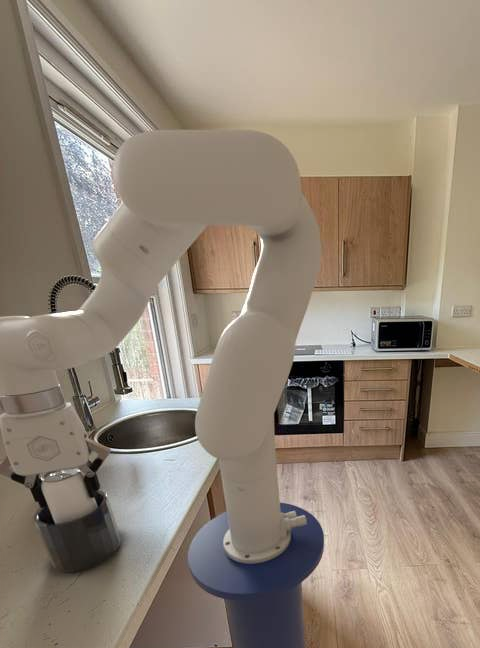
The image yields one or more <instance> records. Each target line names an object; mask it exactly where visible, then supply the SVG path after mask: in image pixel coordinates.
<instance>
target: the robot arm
mask: <svg viewBox="0 0 480 648" xmlns="http://www.w3.org/2000/svg"><path fill="white" fill-rule="evenodd" d="M112 180H113V184H114V187H115V190H116V192H117V195H118V197H119V199H120V200H121V201H122V202H121V203H120V204H119V206H118V207H117V208H116V210H115V211H114V212H113V214H112V215H111V217H109V218H108V220H107V221H106V223H105V224H104V225H103V227H102V228H101V229H100V230H99V232H98V233H97V234H96V235H95V237H94V238H93V240H92V242H91V243H92V244H91V249H92V252H93V255H94V257H95V259H96V260H97V262H98V263H99V265H100V277H99V280H98V282H97V284H96V286H95V287H94V290H93V291H92V292H91V294H90V295H89V296H88V298H87V299H86V300H85V301H84V302H83V303H82V305H81V306H80V307H79V308H78V309H77V310H71V311H63V312H55V313H46V314H40V315H33V316H28V315H27V316H26V315H5V316H0V408H1V410H2V412H3V413H1V414H0V432H1V436H2V441H3V445H4V448H5V451H6V457H5V458H4V459H3V460H2V462H1V463H0V475H2V476H4V477H7V478H10V479H11V480H12V481H14V482H16V483H18V484H21V485H23V486H24V487H25V488H26V489H29V490H30V493H31V495H32V497H33V500H34V502H35V503H38V505H39V509H40V508H45V507H46V506H47V502H46V500H45V497H44V495H43V492H42V489H41V485H42V480H41V477H40V475H41V474H45V473H47V472H53V471H58V470H64V469H70V468H75V467H77V468H79V469H80V470H81V471H82V472H83V473H84V474H85V477H84V482H85V485H86V488H87V491H88V494H89V497H91V498H94V497H95V496H96V494H97V491H98V490H99V491H100V489H101V484H100V481H99V477H98V474H97V472H98V470H99V469H100V467H101V466H103V465H102V464H103V463H104V462H105V461H106V459H107V458H108V456H110V453H111V451H112V450H111V448H110V447H108V446H106V445H104V444H102V443H100V442H98V441H95V440H93V439H91V438H90V437H89V436H88V432H87V431H86V429H85V426H84V423H83V422H82V420H81V418H80V416H79V414H78V413H77V411H76V409H75V408H74V406H73V404H72V403H71V402H68V401H66V399H65V396H64V393H63V390H62V386H61V383H60V381H59V378H58V375H57V371H66V370H70V369H73V368H76V367H79V366H82V365H84V364H86V363H88V362H92V361H95V360H97V359H101V358H104V357H105V356H107V355H109V354H110V353H112V352H113V351H114V350H115V349H116V348H117V347H118V346H119V345H120V344H121V343H122V341H123V340H124V339H125V338H126V337H127V335H128V334H129V333H131V331H132V330H133V328H134V327H135V326H136V325H137V323H138V322H139V321H140V319H141V317H142V316H143V314H144V312H145V310H146V308H147V306H148V303H149V302H150V301H151V297H152V295H153V292H154V290H155V289H156V288H157V286H159V284H160V283H161V282H162V280H163V279H165V277H166V275H167V274H168V273H169V272H170V271H171V270H172V268H173V267H174V266H175V265H176V264H177V262H178V261H179V260H180V259H181V258H182V257H183V255H185V253H186V252H187V250H188V249H189V248H190V247H192V245H193V243H194V242H195V241H196V240H197V239H198V238H199V237H200V235H201V234H202V233H203V231H204V230H205V229H206V227H207V226H248V227H250V229H251V230H253V231H254V232H255V233H256V234H257V235H258V237H259V239H260V245H261V247H260V248H261V250H260V255H259V257H258V261H257V264H256V266H255V269H254V272H253V274H252V278H251V283H250V287H249V290H248V293H247V296H246V299H245V302H244V304H243V307H242V310H241V312H240V315H239V316H237V317H235V318H234V319H233V320H232V321H231V322H230V323H228V325H227V326H226V327H225V329H224V330H223V332H222V333H221V335H220V337H219V339H218V341H217V344H216V346H215V349H214V353H213V357H212V359H211V362H210V365H209V369H208V372H207V376H206V380H205V382H204V386H203V390H202V393H201V397H200V398H199V399H200V400H199V403H198V406H197V409H196V414H195V418H194V430H195V435H196V438H197V440H198V442H199V444H200V446H201V447H202V448H203V450H204V451H205V452H206V453H208V454H209V455H210V456H212V457H214V459H218V463H219V470H220V478H221V484H222V490H223V496H224V503H225V509H226V511H227V516H228V522H229V528H230V529H229V530H228V531H227V533H226V534H225V536H224V539H223V546H224V550H225V553H226V554H227V555H228V557H230V558H231V559H233V560H235V561H237V562H240V563H246V564H255V563H261V562H266V561H268V560H271V559H273V558H275V557H277V556H278V555H280V554H281V553H282V552H283V551H284V550H285V549H286V548H287V547H288V545H289V543H290V540H291V532H290V531H291V528H294V527H300V526H304V525H307V521H306V517H305V515H302V516H298V517H296V512H295V511H292V512H289V513H285V514H284V513H281V510H280V503H281V500H280V489H279V478H278V477H279V476H278V463H277V451H276V437H275V436H276V435H275V434H276V433H275V412H276V410H277V407H278V405H279V402H280V399H281V397H282V394H283V391H284V389H285V386H286V383H287V381H288V379H289V375H290V373H291V370H292V367H293V363H294V359H295V352H296V343H297V340H298V335H299V333H300V329H301V327H302V324H303V321H304V318H305V316H306V313H307V311H308V307H309V304H310V302H311V301H310V300H311V298H312V296H313V292H314V289H315V286H316V283H317V279H318V277H319V272H320V268H321V263H322V240H321V234H320V228H319V224H318V222H317V218H316V216H315V214H314V212H313V209H312V208H311V206H310V204H309V202H308V200H307V199H306V197H305V196H304V194H303V192H302V179H301V174H300V170H299V167H298V164H297V161H296V160H295V157H294V155H293V153H291V151H290V150H289V148H288V147H287V146H286V145H285V143H283V142H282V141H281V140H279V139H278V138H276V137H275V136H273V135H271V134H269V133H266V132H262V131H259V130H252V129H251V130H250V129H161V130H160V129H159V130H156V129H155V130H147V131H144V132H139V133H136V134H134V135H132V136H130V137H128V138H127V139H126V140H125V141H123V142H122V144H121V145H120V146H119V148H118V149H117V151H116V153H115V156H114V158H113V161H112ZM86 432H87V433H86ZM93 452H94V453H97V456H96V457H95V458H94V460H93V461H92V459H91V458H90V455H91V454H92V453H93Z"/></svg>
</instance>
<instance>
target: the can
mask: <svg viewBox="0 0 480 648" xmlns="http://www.w3.org/2000/svg"><path fill="white" fill-rule="evenodd" d="M84 477H85V474H84V473H83V472H82V471H81V470H80V469H79V468H77V467H75V468H70V469H64V470H58V471H53V472H47V473H43V475H42V476H41V477H40V479H41V480H42V485H41V489H42V492H43V495H44V497H45V500H46V502H47V505H48V507H49V509H50V512H51V514H52V517H53V519H54V522H55V524H56V523H63V522H68V521H71V520H74V519H77V518H80V517H82V516H84V515H86V514H89V513H90V512H92V511H93V510H95V509H96V508H98V507H97V504H96V501H95V498H91V497H89V494H88V491H87V488H86V485H85V482H84Z"/></svg>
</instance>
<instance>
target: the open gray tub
mask: <svg viewBox="0 0 480 648" xmlns="http://www.w3.org/2000/svg"><path fill="white" fill-rule="evenodd" d="M94 498H95V501H96V504H97V507H98V508H96V509H95V510H93V511H92V512H90V513H89V514H86V515H84V516H82V517H80V518H77V519H74V520H71V521H68V522H63V523H56V524H55V522H54V519H53V517H52V514H51V512H50V509H49V507H48V505H47V506H46V507H45V508H40V507H39V508H38V509H37V511H36V512H35V513H34V515H33V523H34V525H35V527H36V531H37V533H38V535H39V538H40V540H41V542H42V544H43V546H44V549H45V551H46V553H47V556H48V558H49V561H50V563H51V565H52V566H53V569H55V570H56V571H57V572H60V573H64V574H65V573H66V574H71V573H72V574H74V573H79V572H83V571H87V570H90V569H92V568H95V567H97V566H99V565H101V564H103V563H104V562H106V561H107V560H108V559H110V558H111V557H112V556H113V555H114V554H115V553H116V552H117V551H118V549H119V548H120V546H121V542H122V540H121V535H120V532H119V529H118V526H117V523H116V519H115V516H114V513H113V509H112V508H111V503H110V500H109V497H108V495H107V492H104V491H102V490H100V489H99V490H98V491H97V494H96V496H95V497H94Z"/></svg>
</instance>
